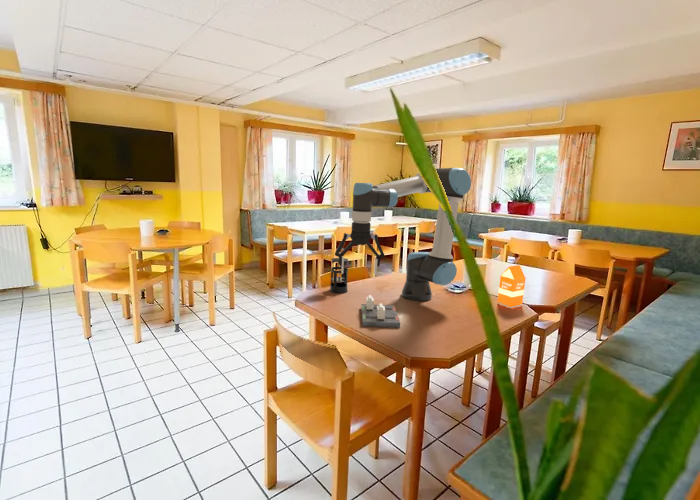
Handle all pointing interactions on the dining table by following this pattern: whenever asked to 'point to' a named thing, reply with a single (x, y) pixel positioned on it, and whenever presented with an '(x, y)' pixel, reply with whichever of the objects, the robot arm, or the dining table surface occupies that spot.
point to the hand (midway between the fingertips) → (358, 273)
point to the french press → (338, 286)
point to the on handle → (369, 302)
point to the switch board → (371, 319)
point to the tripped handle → (380, 312)
